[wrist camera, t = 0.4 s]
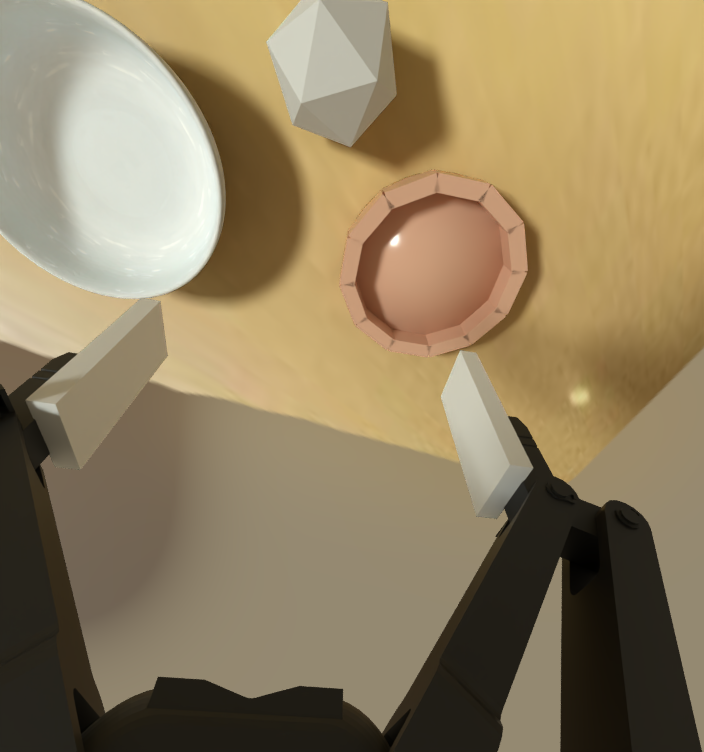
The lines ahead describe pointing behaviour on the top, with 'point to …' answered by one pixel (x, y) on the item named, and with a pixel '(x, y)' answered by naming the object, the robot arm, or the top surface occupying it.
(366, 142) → the top surface
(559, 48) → the top surface
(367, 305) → the tray
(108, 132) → the serving bowl
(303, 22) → the die
